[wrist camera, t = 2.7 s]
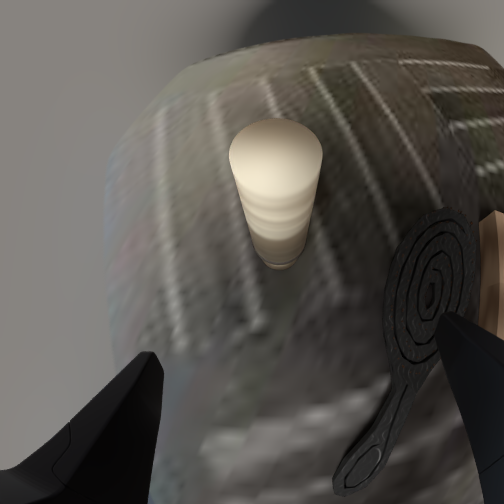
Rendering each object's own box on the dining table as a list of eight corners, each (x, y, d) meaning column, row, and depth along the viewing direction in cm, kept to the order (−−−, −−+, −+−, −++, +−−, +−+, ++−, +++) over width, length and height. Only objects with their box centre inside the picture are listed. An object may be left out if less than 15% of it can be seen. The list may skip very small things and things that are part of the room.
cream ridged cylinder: (298, 279, 22) (317, 200, 10) (250, 269, 22) (215, 183, 10) (306, 234, 23) (327, 125, 11) (261, 225, 23) (241, 113, 11)
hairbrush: (294, 496, 14) (421, 185, 19) (293, 474, 18) (405, 204, 22) (387, 513, 12) (496, 227, 17) (376, 493, 16) (474, 239, 21)
